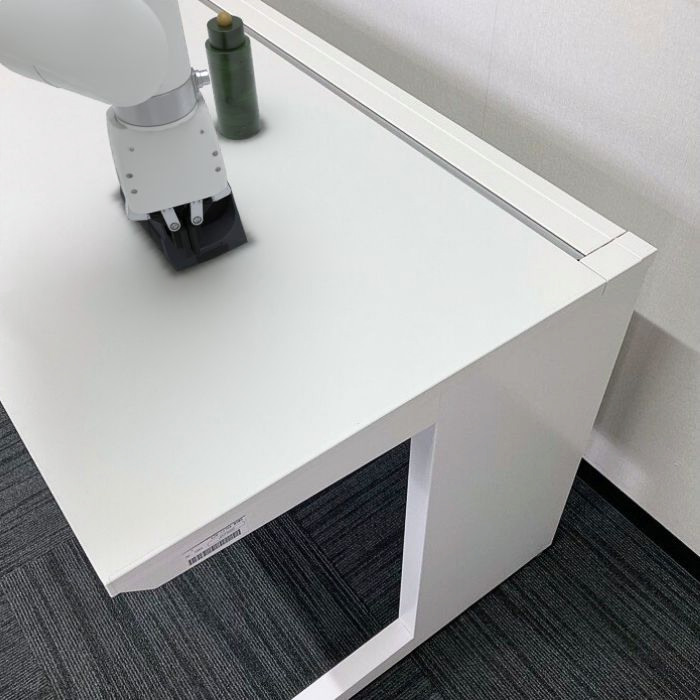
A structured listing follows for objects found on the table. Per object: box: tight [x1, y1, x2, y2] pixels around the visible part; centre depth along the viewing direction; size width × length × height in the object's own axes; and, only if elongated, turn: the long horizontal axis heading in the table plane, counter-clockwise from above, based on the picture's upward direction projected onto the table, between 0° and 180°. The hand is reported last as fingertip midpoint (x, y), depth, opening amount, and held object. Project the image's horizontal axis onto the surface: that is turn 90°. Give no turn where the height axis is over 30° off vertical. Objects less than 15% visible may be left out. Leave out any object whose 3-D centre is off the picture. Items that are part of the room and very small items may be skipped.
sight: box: [119, 180, 249, 272], centre depth 87 cm, size 9×18×10 cm, turn 33°
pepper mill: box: [204, 11, 262, 140], centre depth 97 cm, size 6×6×16 cm
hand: (190, 249), depth 82 cm, fingers closed
